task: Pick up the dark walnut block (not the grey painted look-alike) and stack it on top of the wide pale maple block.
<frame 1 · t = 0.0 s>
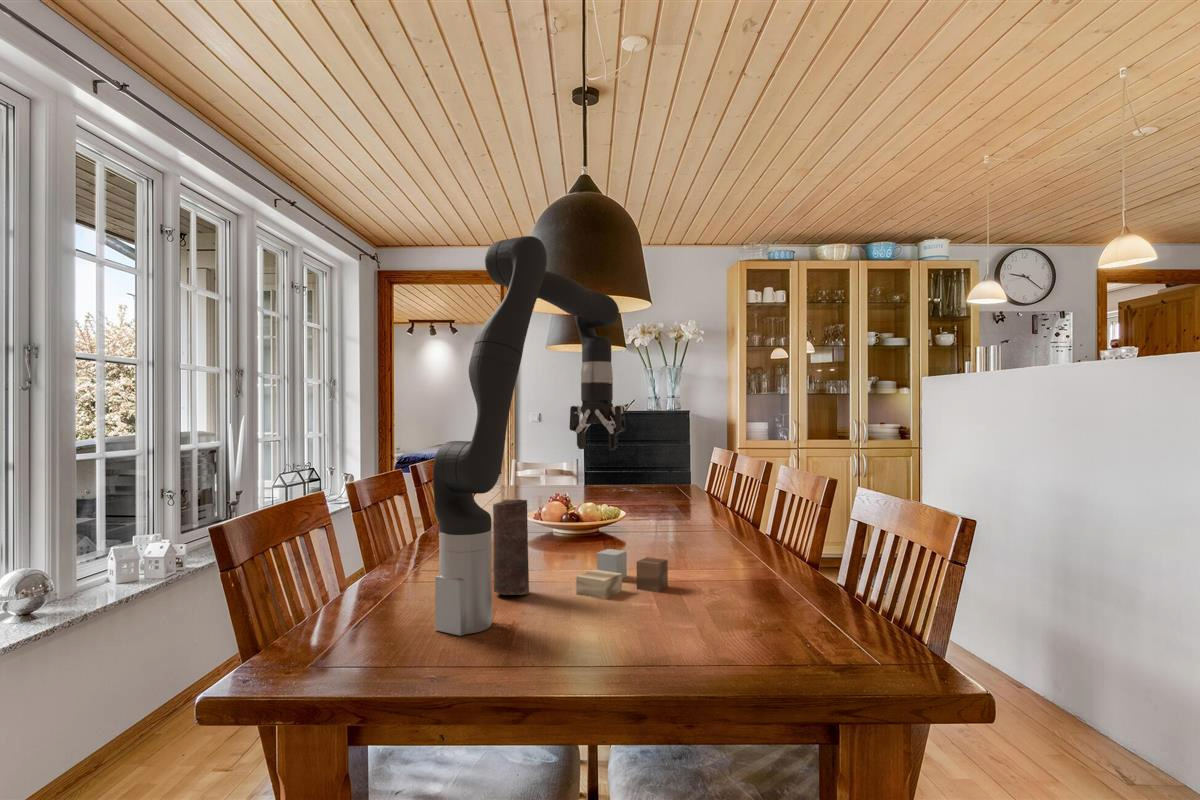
hand: (597, 449, 158), 29 cm above the table, fingers open, 8 cm apart
grey block: (611, 578, 153), on the table
walnut block: (652, 588, 144), on the table
maple base: (599, 593, 141), on the table
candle: (511, 595, 139), on the table
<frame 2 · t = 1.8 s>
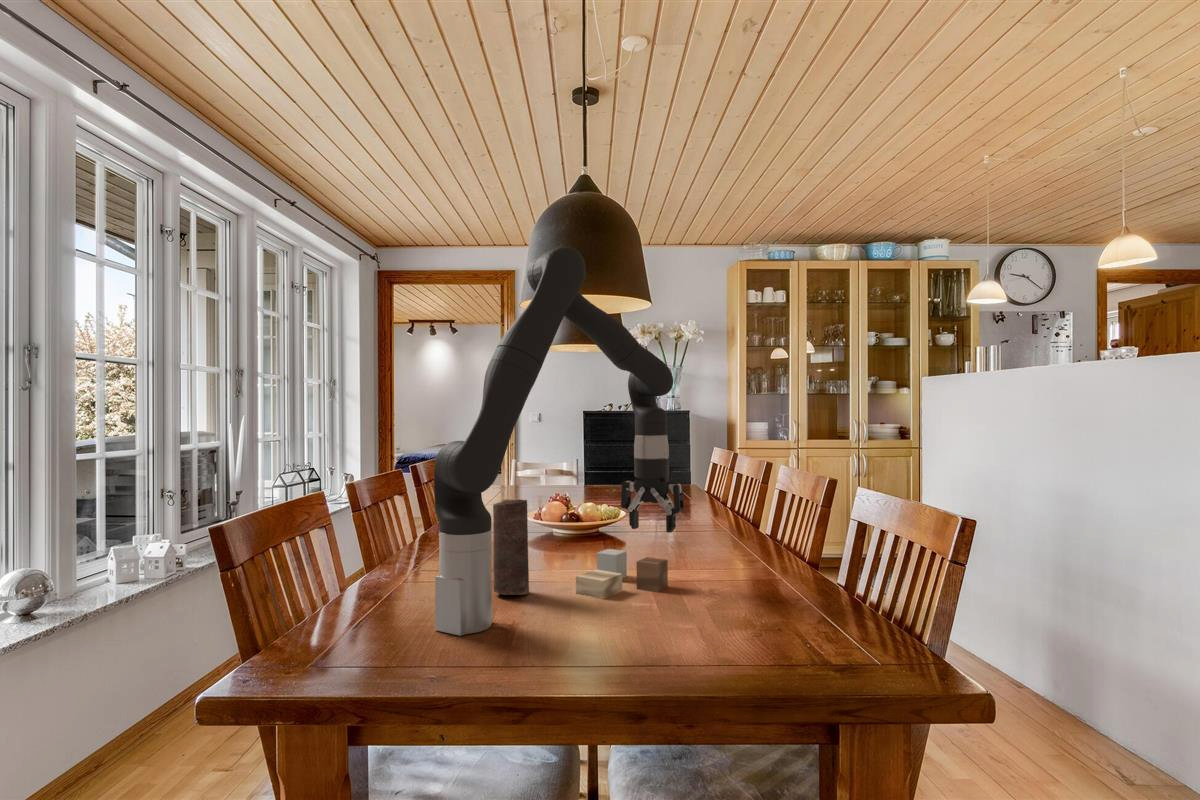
hand: (652, 530, 145), 12 cm above the table, fingers open, 8 cm apart
nothing on the table moved.
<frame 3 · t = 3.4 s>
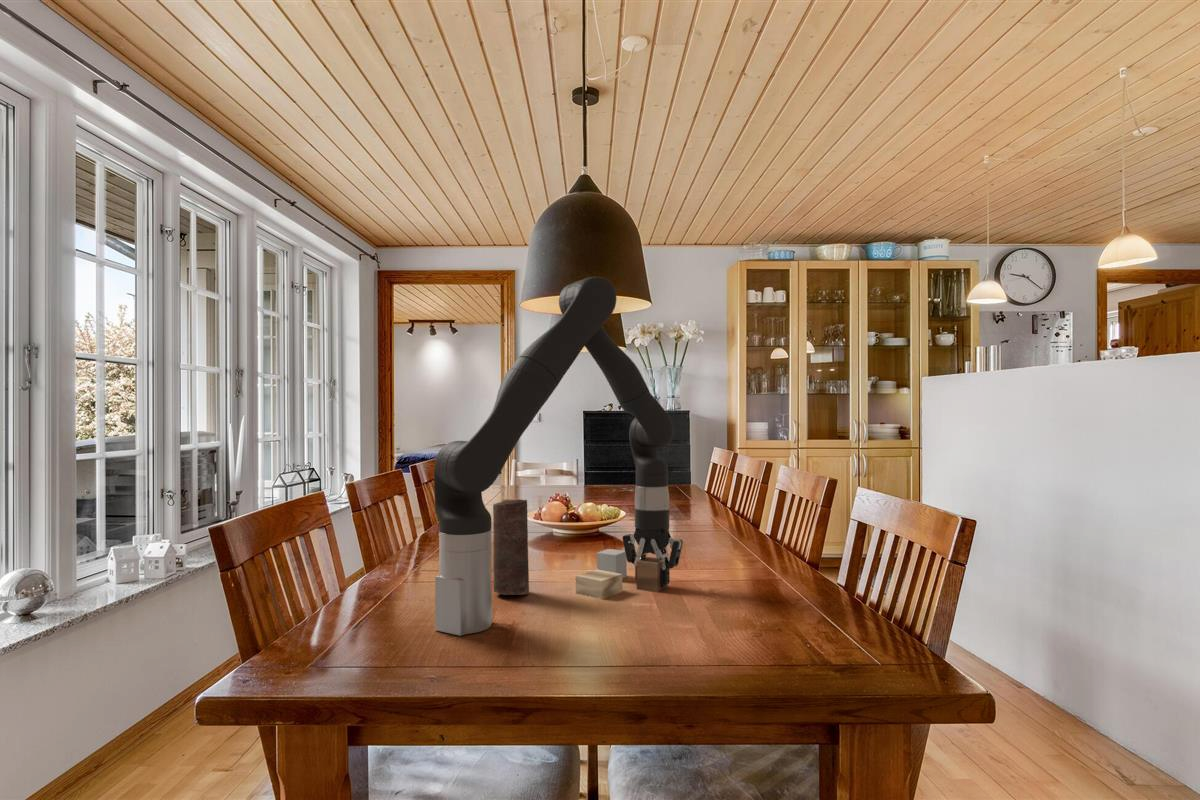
hand: (652, 584, 144), 1 cm above the table, fingers closed on walnut block, 5 cm apart
walnut block: (652, 587, 144), on the table, touching gripper
everything else where it was.
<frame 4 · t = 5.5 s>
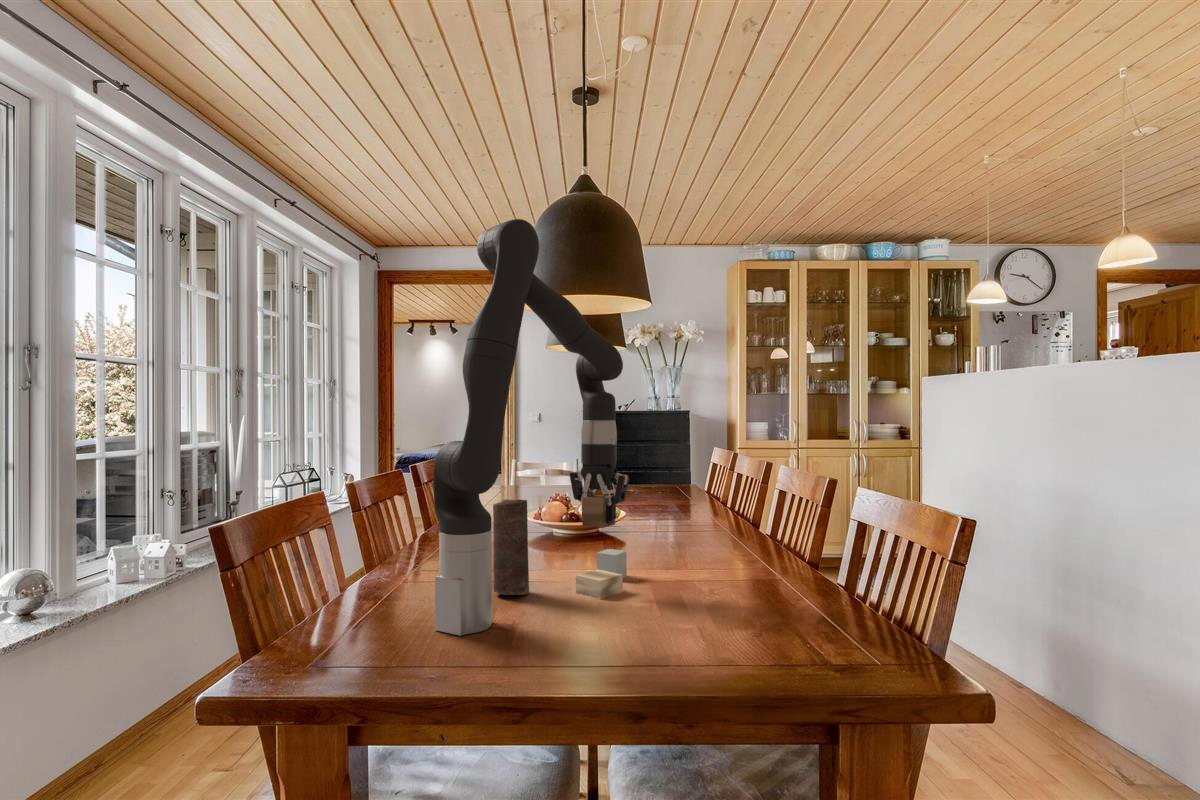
hand: (598, 521, 141), 15 cm above the table, fingers closed on walnut block, 5 cm apart
walnut block: (598, 525, 141), point 14 cm above the table, touching gripper
everything else where it was.
when the fingers open (6 cm above the table, at t = 7.7 s): walnut block drops 1 cm, resting on maple base.
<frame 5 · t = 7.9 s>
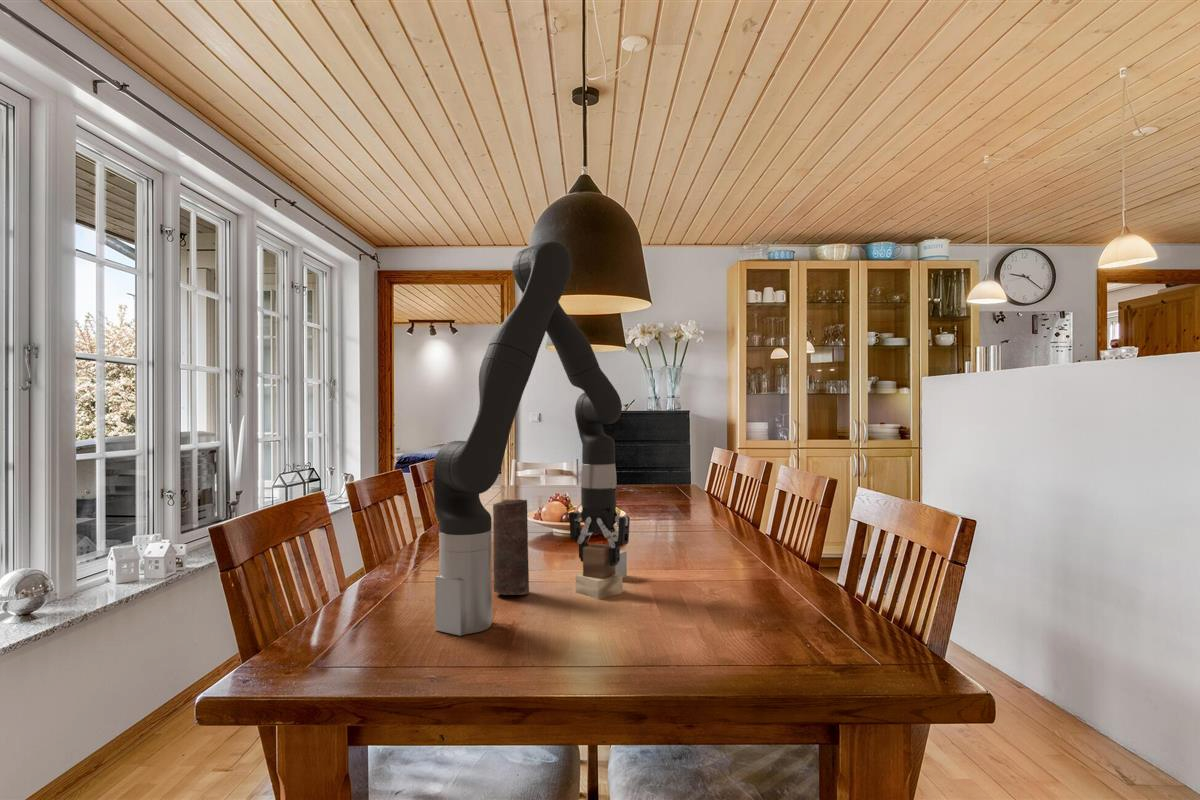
hand: (599, 563, 141), 6 cm above the table, fingers open, 6 cm apart
walnut block: (599, 575, 141), point 4 cm above the table, touching maple base
maple base: (599, 593, 141), on the table, touching walnut block
everything else where it was.
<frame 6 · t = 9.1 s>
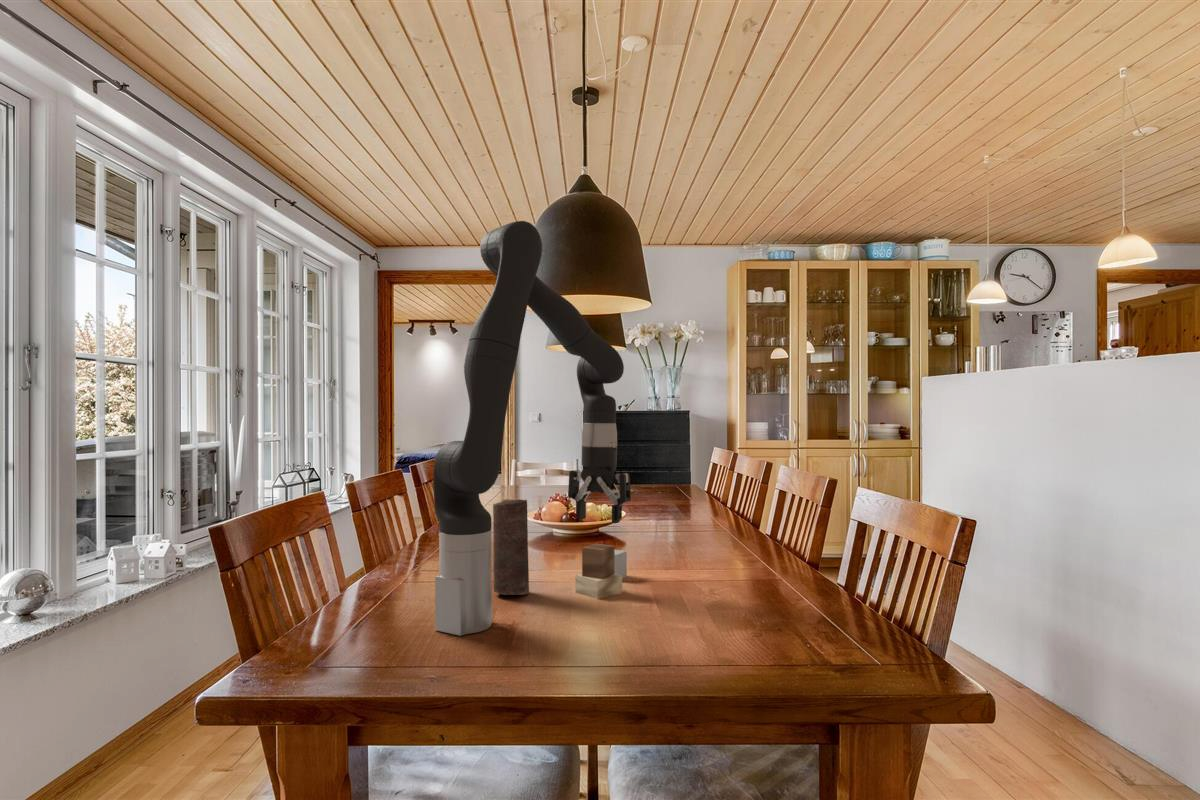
hand: (598, 520, 141), 15 cm above the table, fingers open, 8 cm apart
walnut block: (598, 575, 141), point 4 cm above the table
maple base: (598, 593, 141), on the table
everything else where it was.
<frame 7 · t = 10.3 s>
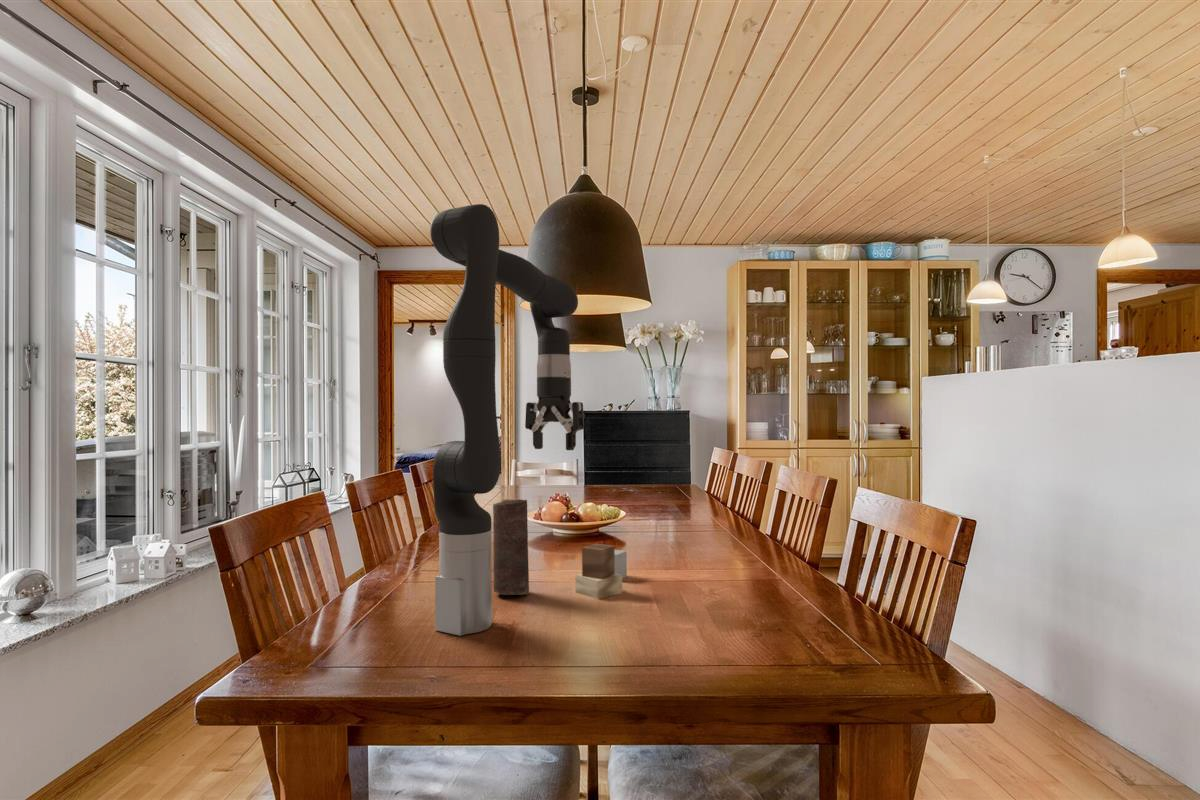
hand: (554, 449, 146), 30 cm above the table, fingers open, 8 cm apart
walnut block: (598, 575, 141), point 4 cm above the table, touching maple base
maple base: (598, 594, 141), on the table, touching walnut block
everything else where it was.
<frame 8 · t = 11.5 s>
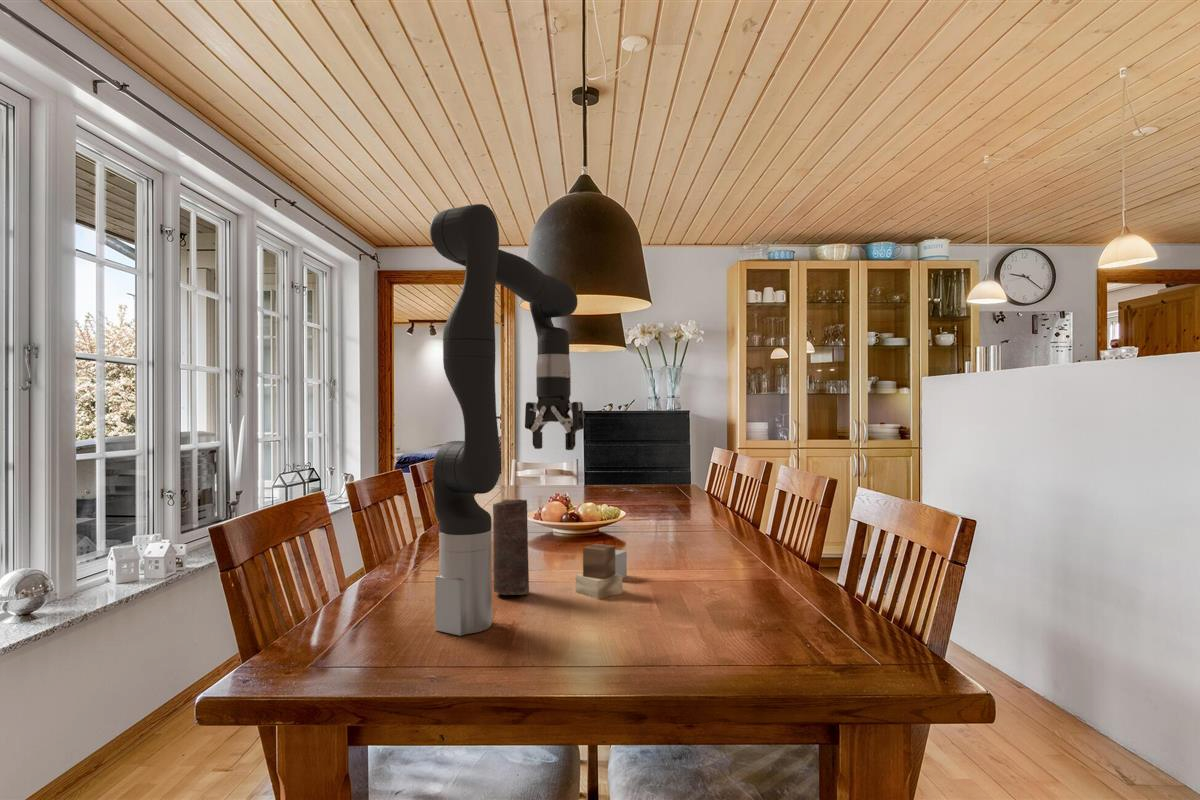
hand: (553, 449, 146), 30 cm above the table, fingers open, 8 cm apart
nothing on the table moved.
at the end: walnut block 0.2 cm off-centre on the maple base, point 4.0 cm above the maple base's base; walnut block tilted 0°; the gripper is holding nothing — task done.
